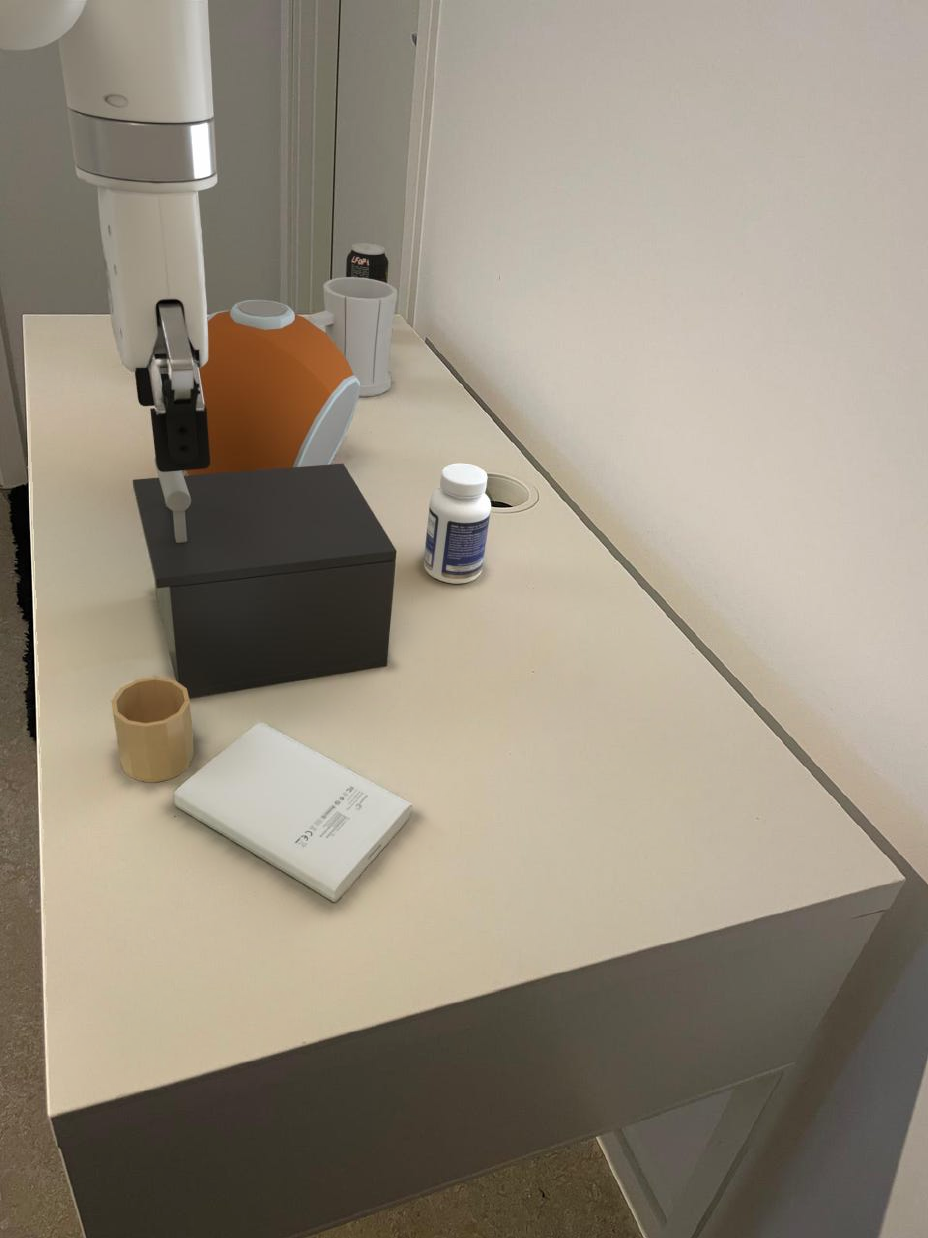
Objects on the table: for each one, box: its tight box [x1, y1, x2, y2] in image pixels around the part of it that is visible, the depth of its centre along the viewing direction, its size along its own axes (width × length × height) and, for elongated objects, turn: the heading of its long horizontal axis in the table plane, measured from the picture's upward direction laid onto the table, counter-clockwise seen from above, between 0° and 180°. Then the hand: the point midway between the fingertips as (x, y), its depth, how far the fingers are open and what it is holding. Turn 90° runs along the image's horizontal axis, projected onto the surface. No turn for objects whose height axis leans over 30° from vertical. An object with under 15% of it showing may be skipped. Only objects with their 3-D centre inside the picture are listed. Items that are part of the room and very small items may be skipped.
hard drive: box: [173, 721, 413, 903], centre depth 57 cm, size 2×8×12 cm
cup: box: [306, 276, 398, 398], centre depth 110 cm, size 10×9×12 cm
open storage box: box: [153, 559, 397, 700], centre depth 69 cm, size 16×14×10 cm
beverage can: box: [345, 242, 390, 284], centre depth 126 cm, size 6×6×12 cm
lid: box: [132, 457, 398, 588], centre depth 65 cm, size 16×14×5 cm
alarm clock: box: [185, 299, 360, 475], centre depth 87 cm, size 19×18×17 cm
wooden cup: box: [111, 675, 195, 783], centre depth 58 cm, size 5×5×5 cm
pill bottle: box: [423, 462, 492, 585], centre depth 80 cm, size 5×5×10 cm
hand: (172, 433), depth 60 cm, fingers open, 9 cm apart
